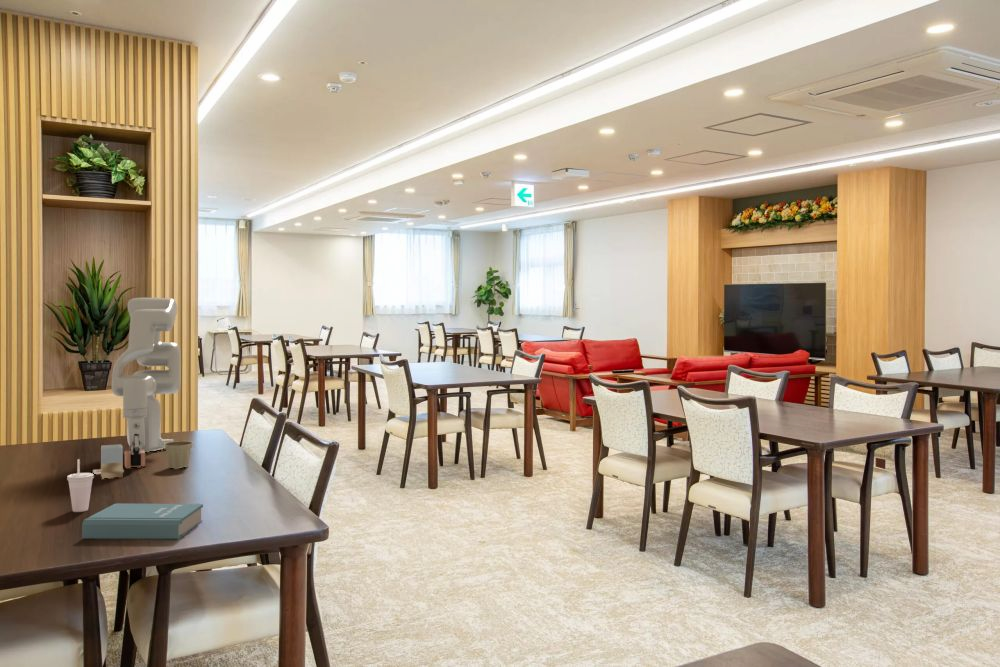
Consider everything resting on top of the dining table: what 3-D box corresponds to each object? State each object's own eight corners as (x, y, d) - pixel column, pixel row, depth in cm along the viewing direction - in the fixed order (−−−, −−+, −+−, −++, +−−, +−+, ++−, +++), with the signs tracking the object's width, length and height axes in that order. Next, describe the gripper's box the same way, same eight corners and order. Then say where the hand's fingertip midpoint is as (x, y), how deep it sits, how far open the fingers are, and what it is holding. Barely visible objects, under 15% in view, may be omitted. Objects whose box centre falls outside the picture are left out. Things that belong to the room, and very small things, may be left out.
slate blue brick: (121, 458, 246) (121, 444, 246) (122, 462, 241) (122, 447, 241) (101, 460, 243) (101, 445, 243) (102, 463, 238) (102, 448, 238)
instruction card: (122, 468, 254) (122, 466, 254) (123, 472, 249) (124, 470, 248) (92, 470, 250) (92, 469, 250) (93, 474, 244) (93, 473, 244)
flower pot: (168, 471, 250) (168, 446, 250) (160, 467, 257) (160, 442, 257) (196, 468, 256) (196, 443, 256) (187, 463, 264) (187, 440, 263)
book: (202, 523, 192) (202, 504, 192) (177, 542, 176) (177, 521, 176) (115, 522, 191) (115, 503, 191) (81, 541, 175) (82, 520, 175)
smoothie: (76, 506, 204) (76, 456, 204) (98, 507, 204) (98, 457, 203) (61, 513, 198) (61, 461, 197) (84, 513, 197) (85, 461, 197)
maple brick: (121, 473, 246) (121, 458, 246) (122, 477, 241) (122, 462, 241) (100, 475, 243) (100, 460, 243) (101, 479, 238) (101, 463, 238)
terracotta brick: (143, 463, 262) (143, 449, 262) (145, 466, 257) (145, 452, 257) (124, 465, 259) (124, 451, 259) (126, 468, 254) (126, 454, 254)
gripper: (149, 415, 252) (149, 467, 253) (144, 409, 267) (144, 458, 267) (125, 417, 248) (124, 469, 249) (121, 410, 263) (121, 460, 264)
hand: (134, 463), depth 258 cm, fingers closed on terracotta brick, 6 cm apart
